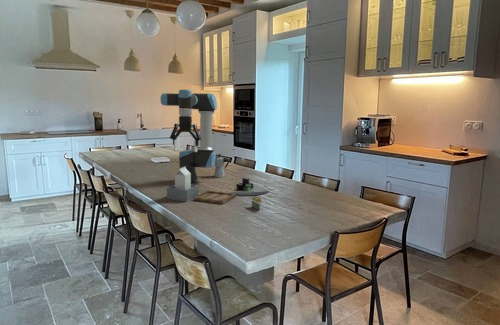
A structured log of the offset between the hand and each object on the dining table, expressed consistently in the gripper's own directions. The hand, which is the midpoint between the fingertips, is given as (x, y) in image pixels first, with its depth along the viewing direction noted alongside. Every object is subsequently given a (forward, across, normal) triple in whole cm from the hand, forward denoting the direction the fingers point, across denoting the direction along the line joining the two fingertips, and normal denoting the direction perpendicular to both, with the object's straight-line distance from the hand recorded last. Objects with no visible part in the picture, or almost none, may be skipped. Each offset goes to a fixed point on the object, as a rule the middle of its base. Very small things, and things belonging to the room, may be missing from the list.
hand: (185, 151), depth 216 cm
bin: (+29, -2, -1) cm, 29 cm away
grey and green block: (+30, +48, -5) cm, 57 cm away
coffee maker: (+28, -5, +65) cm, 71 cm away
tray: (+29, +18, +4) cm, 34 cm away
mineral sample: (+29, +27, +33) cm, 52 cm away
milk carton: (+29, -2, -1) cm, 29 cm away
